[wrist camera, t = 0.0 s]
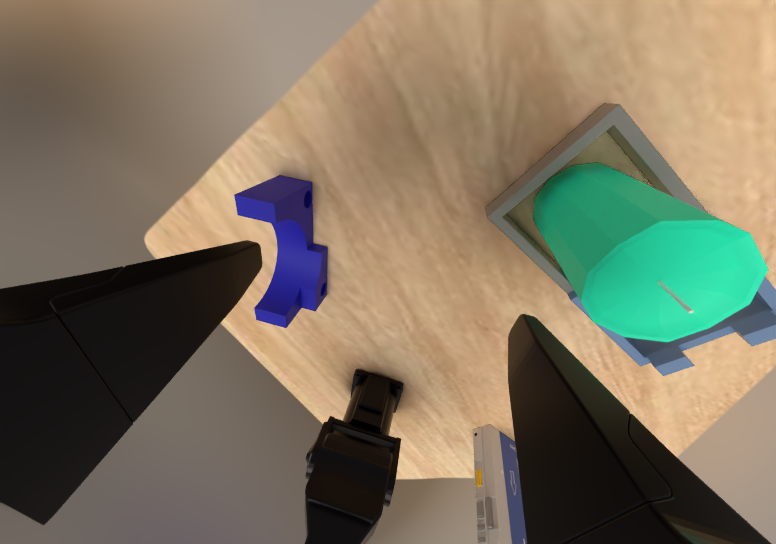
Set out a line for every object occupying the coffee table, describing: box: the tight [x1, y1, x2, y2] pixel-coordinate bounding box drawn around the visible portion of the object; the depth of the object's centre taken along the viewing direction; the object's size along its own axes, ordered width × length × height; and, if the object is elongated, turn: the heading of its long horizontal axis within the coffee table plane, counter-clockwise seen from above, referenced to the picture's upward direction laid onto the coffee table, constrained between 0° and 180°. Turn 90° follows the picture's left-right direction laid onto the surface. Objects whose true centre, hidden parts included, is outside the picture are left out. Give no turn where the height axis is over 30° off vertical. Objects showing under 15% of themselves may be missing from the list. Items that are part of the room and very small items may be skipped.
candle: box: [533, 162, 768, 342], centre depth 15 cm, size 6×6×12 cm
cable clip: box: [234, 175, 328, 328], centre depth 25 cm, size 12×4×6 cm, turn 172°
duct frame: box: [485, 103, 776, 376], centre depth 19 cm, size 18×9×4 cm, turn 51°
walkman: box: [473, 424, 527, 544], centre depth 32 cm, size 8×3×12 cm, turn 53°
